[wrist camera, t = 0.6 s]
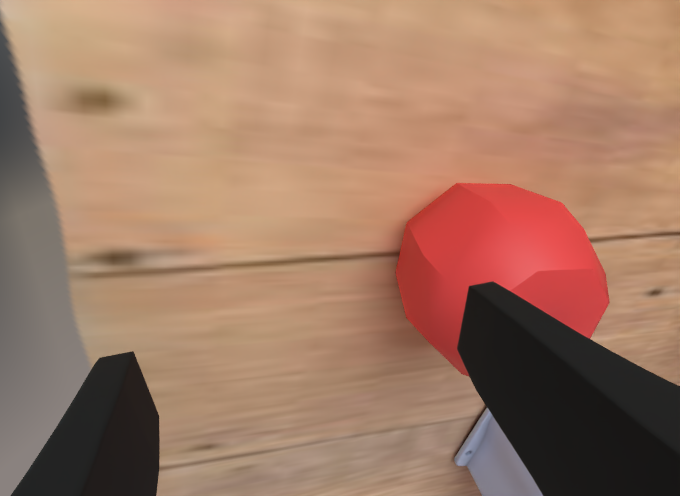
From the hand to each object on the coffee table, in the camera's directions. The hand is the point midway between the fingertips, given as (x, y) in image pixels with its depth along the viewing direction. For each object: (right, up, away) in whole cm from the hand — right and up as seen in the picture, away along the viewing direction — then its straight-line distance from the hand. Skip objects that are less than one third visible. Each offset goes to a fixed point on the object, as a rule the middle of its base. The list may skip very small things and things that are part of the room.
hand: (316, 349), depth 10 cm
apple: (+6, +3, +12) cm, 14 cm away
